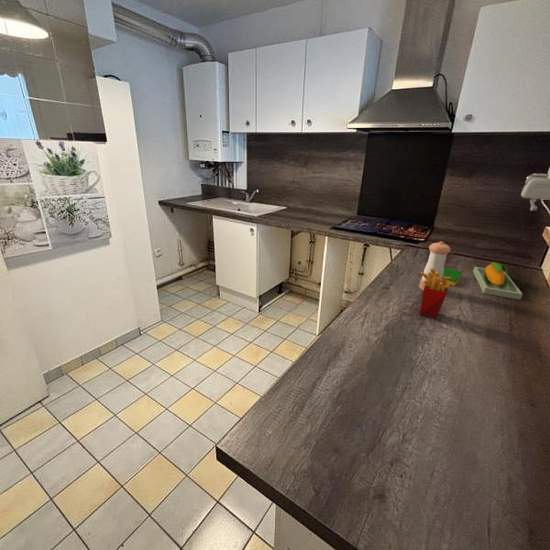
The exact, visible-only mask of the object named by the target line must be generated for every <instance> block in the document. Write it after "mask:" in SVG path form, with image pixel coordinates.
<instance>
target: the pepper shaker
mask: <svg viewBox="0 0 550 550" xmlns="http://www.w3.org/2000/svg"><path fill="white" fill-rule="evenodd" d="M428 250H429V257H428V260H427V262H426V265H425V268H424V269H423V272H424V273H426V274H427V276H428V273H431V270H430V269H431V268H433V269H434V271H435V272H438V273H439V277H440V281H441V280H442V277H443V271H444V268H445V263H446V259H447V255H449V254H450V252H451V247H450V245H448V244H446V243H445V242H444V241H439V242H433V243H431V244H430V245H429V247H428ZM431 274H432V273H431ZM424 280H426V279H425V277H424V276H423V275H422V277H421V278H420V281H419V285H418V288H419V289H420V290H421V291H424V287H425V283H424V282H423V281H424ZM426 281H427V280H426ZM431 281H433V279H431Z"/></svg>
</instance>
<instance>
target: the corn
mask: <svg viewBox="0 0 550 550" xmlns="http://www.w3.org/2000/svg"><path fill="white" fill-rule="evenodd" d="M484 268H485V272H484V275H485V278H486V280H487V281H488V283H489V284H491V283H492V284H493V285H496V286H500V287H501V288H505V287H506V285H507V281H506V278H505V274H504V272H505V273H506V274H507V275H508V270H507V268H506V266H505V265H504V264H501V263H498V262H495V261H493V262H490V264H488V265H486V267H484Z"/></svg>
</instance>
